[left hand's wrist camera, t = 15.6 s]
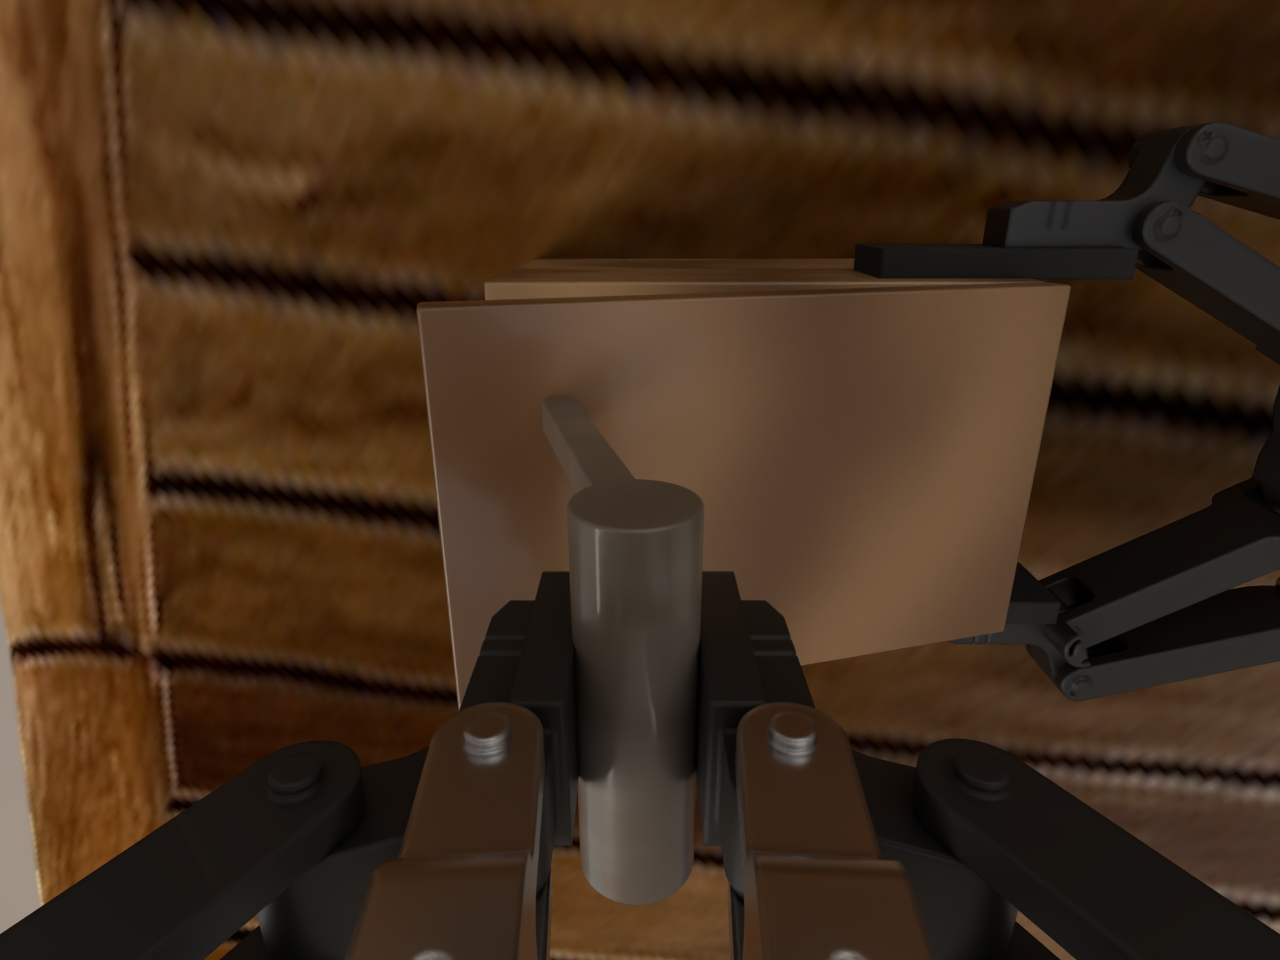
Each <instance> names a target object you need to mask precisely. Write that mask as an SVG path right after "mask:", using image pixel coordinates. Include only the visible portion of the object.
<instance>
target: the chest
mask: <svg viewBox="0 0 1280 960" xmlns="http://www.w3.org/2000/svg"><path fill="white" fill-rule="evenodd" d="M853 269H854V258H821V259H534V260H532V261H530V262H528V263H526V264H524V265H522V266H519V267H517V268H515V269H513V270H511V271H509V272H506V273H504V274H502V275H500V276H498V277H496V278H493V279H491V280H489V281H487V282H485V284H484V289H485V300H506V299H536V298H567V297H598V296H629V295H660V294H691V293H721V292H752V291H783V290H814V289H845V288H875V287H906V286H937V285H968V284H999V283H1030V282H1045V281H1041V280H1036V279H1031V278H932V279H880V278H877V277H874V276H871V275H867V274H864V273H861V272H858V271H855V270H853Z"/></svg>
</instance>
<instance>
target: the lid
mask: <svg viewBox="0 0 1280 960" xmlns="http://www.w3.org/2000/svg"><path fill="white" fill-rule="evenodd" d="M1070 290H1071V286H1069V285H1066V284H1058V283H1050V282H1030V283H999V284H968V285H937V286H906V287H875V288H845V289H814V290H783V291H752V292H721V293H691V294H660V295H629V296H598V297H567V298H536V299H506V300H475V301H444V302H420V303H418V305H417V320H418V329H419V339H420V349H421V358H422V368H423V377H424V387H425V396H426V406H427V415H428V425H429V434H430V444H431V453H432V463H433V472H434V482H435V491H436V501H437V511H438V520H439V530H440V539H441V549H442V558H443V568H444V577H445V587H446V596H447V606H448V615H449V625H450V634H451V644H452V653H453V663H454V672H455V682H456V692H457V701H458V711H459V709H460V706H461V704H462V701H463V698H464V695H465V692H466V689H467V687H468V684H469V681H470V678H471V675H472V672H473V670H474V667H475V664H476V661H477V658H478V656H480V650H481V647H482V644H483V641H484V640H485V635H486V633H487V630H488V627H489V624H490V621H491V618H492V616H494V615H495V614H496V613H497V612H498V611H499V610H500V609H501V608H502V607H504V606H505V605H506V604H507V603H508V602H509V601H510V600H535V598H536V594H537V590H538V586H539V583H540V579H541V575H542V572H543V571H569V575H570V601H571V626H572V640H573V643H574V650H575V677H576V705H577V732H578V759H579V781H578V805H579V831H580V856H581V866H582V870H583V873H584V875H585V877H586V879H587V880H588V882H589V883H590V884H591V886H592V887H593V888H594V889H595V890H596V891H597V892H599V893H600V894H601V895H603V896H604V897H606V898H608V899H610V900H612V901H615V902H618V903H621V904H627V905H647V904H652V903H656V902H659V901H661V900H664V899H666V898H668V897H669V896H671V895H673V894H674V893H675V892H676V891H678V890H679V889H680V888H681V887H682V886H683V884H684V883H685V881H686V880H687V879H688V877H689V875H690V873H691V870H692V867H693V860H694V828H695V795H696V755H697V723H698V692H699V660H700V632H701V600H702V571H733V572H734V574H735V578H736V582H737V586H738V590H739V594H740V598H741V600H766V601H767V602H768V603H769V604H771V605H772V606H773V607H774V608H775V609H776V610H777V611H778V612H779V613H780V614H782V615H783V616H784V618H785V621H786V624H787V627H788V630H789V633H790V636H791V640H792V642H793V644H794V647H795V650H796V656H798V659H799V662H800V665H807V664H813V663H819V662H825V661H831V660H837V659H843V658H849V657H855V656H861V655H867V654H873V653H879V652H885V651H891V650H897V649H903V648H908V647H914V646H920V645H926V644H932V643H938V642H944V641H950V640H956V639H962V638H968V637H974V636H980V635H986V634H992V633H998V632H1003V631H1004V629H1005V624H1006V618H1007V613H1008V608H1009V603H1010V598H1011V593H1012V588H1013V583H1014V577H1015V572H1016V567H1017V562H1018V557H1019V552H1020V547H1021V541H1022V536H1023V531H1024V526H1025V521H1026V516H1027V511H1028V506H1029V500H1030V495H1031V490H1032V485H1033V480H1034V475H1035V470H1036V465H1037V459H1038V454H1039V449H1040V444H1041V439H1042V434H1043V429H1044V424H1045V418H1046V413H1047V408H1048V403H1049V398H1050V393H1051V388H1052V383H1053V377H1054V372H1055V367H1056V362H1057V357H1058V352H1059V347H1060V342H1061V336H1062V331H1063V326H1064V321H1065V316H1066V311H1067V306H1068V301H1069V295H1070Z"/></svg>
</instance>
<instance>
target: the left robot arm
mask: <svg viewBox="0 0 1280 960" xmlns="http://www.w3.org/2000/svg"><path fill="white" fill-rule="evenodd" d="M696 773H697V784H698V794H699V804H700V815H701V825H702V835H703V845H722V852H723V860H724V868H725V873H726V876H727V879H728V916H729V936H730V957H731V960H1060V959H1059V958H1058V957H1057V956H1055V955H1054V954H1053V953H1052V952H1051V951H1050V950H1049V949H1047V948H1046V947H1045V946H1044V945H1043V944H1042V943H1040V942H1039V941H1038V940H1037V939H1036V938H1035V937H1034V936H1032V935H1031V934H1030V933H1029V932H1028V931H1027V930H1025V929H1024V928H1023V927H1022V926H1021V925H1020V924H1019V923H1017V922H1016V921H1015V920H1016V916H1017V912H1018V910H1019V911H1020V912H1021V913H1022V914H1024V915H1025V916H1026V917H1027V918H1028V919H1029V920H1031V921H1032V922H1033V923H1034V924H1035V925H1037V926H1038V927H1039V928H1040V929H1041V930H1042V931H1044V932H1045V933H1046V934H1047V935H1048V936H1049V937H1051V938H1052V939H1053V940H1054V941H1055V942H1056V943H1058V944H1059V945H1060V946H1061V947H1062V948H1064V949H1065V950H1066V951H1067V952H1068V953H1069V954H1071V955H1072V956H1073V957H1074V958H1075V959H1076V960H1280V934H1279V933H1277V932H1276V931H1274V930H1273V929H1271V928H1270V927H1268V926H1267V925H1265V924H1264V923H1262V922H1261V921H1259V920H1258V919H1256V918H1255V917H1253V916H1252V915H1250V914H1249V913H1247V912H1246V911H1244V910H1243V909H1241V908H1240V907H1238V906H1237V905H1235V904H1234V903H1232V902H1231V901H1230V900H1228V899H1227V898H1225V897H1224V896H1222V895H1221V894H1219V893H1218V892H1216V891H1215V890H1213V889H1212V888H1210V887H1209V886H1207V885H1206V884H1204V883H1203V882H1201V881H1200V880H1198V879H1197V878H1195V877H1194V876H1192V875H1191V874H1189V873H1188V872H1186V871H1185V870H1183V869H1182V868H1180V867H1179V866H1177V865H1176V864H1174V863H1173V862H1171V861H1170V860H1168V859H1167V858H1165V857H1164V856H1162V855H1161V854H1159V853H1158V852H1156V851H1155V850H1153V849H1152V848H1150V847H1149V846H1147V845H1146V844H1145V843H1143V842H1142V841H1140V840H1139V839H1137V838H1136V837H1134V836H1133V835H1131V834H1130V833H1128V832H1127V831H1125V830H1124V829H1122V828H1121V827H1119V826H1118V825H1116V824H1115V823H1113V822H1112V821H1110V820H1109V819H1107V818H1106V817H1104V816H1103V815H1101V814H1100V813H1098V812H1097V811H1095V810H1094V809H1092V808H1091V807H1089V806H1088V805H1086V804H1085V803H1083V802H1082V801H1080V800H1079V799H1077V798H1076V797H1074V796H1073V795H1071V794H1070V793H1068V792H1067V791H1065V790H1064V789H1063V788H1061V787H1060V786H1058V785H1057V784H1055V783H1054V782H1052V781H1051V780H1049V779H1048V778H1046V777H1045V776H1043V775H1042V774H1040V773H1039V772H1037V771H1036V770H1034V769H1033V768H1031V767H1030V766H1028V765H1027V764H1025V763H1024V762H1022V761H1021V760H1019V759H1018V758H1016V757H1014V756H1013V755H1011V754H1009V753H1008V752H1006V751H1004V750H1002V749H999V748H997V747H995V746H992V745H989V744H986V743H982V742H979V741H974V740H968V739H945V740H940V741H937V742H934V743H932V744H930V745H928V746H927V747H925V748H924V749H923V750H922V752H921V753H920V755H919V757H918V760H917V766H916V768H915V767H911V766H906V765H902V764H898V763H894V762H889V761H885V760H881V759H877V758H873V757H870V756H867V755H864V754H862V753H859V752H857V751H855V750H853V749H851V747H850V743H849V740H848V737H847V735H846V733H845V731H844V730H843V728H842V727H841V726H840V725H839V724H838V723H837V722H836V721H835V720H834V719H833V718H831V717H830V716H828V715H827V714H825V713H823V712H822V711H819V710H817V709H815V706H814V703H813V700H812V697H811V694H810V691H809V688H808V685H807V682H806V679H805V677H804V674H803V671H802V668H801V665H800V662H799V659H798V656H796V650H795V647H794V644H793V642H792V640H791V636H790V633H789V630H788V627H787V624H786V621H785V618H784V616H783V615H782V614H780V613H779V612H778V611H777V610H776V609H775V608H774V607H773V606H772V605H771V604H769V603H768V602H767V601H766V600H741V598H740V594H739V590H738V586H737V582H736V578H735V574H734V572H733V571H702V600H701V632H700V660H699V692H698V723H697V755H696ZM578 781H579V759H578V732H577V705H576V677H575V650H574V643H573V640H572V626H571V601H570V575H569V571H543V572H542V575H541V579H540V583H539V586H538V590H537V594H536V598H535V600H510V601H509V602H508V603H507V604H506V605H505V606H504V607H502V608H501V609H500V610H499V611H498V612H497V613H496V614H495V615H494V616H492V618H491V621H490V624H489V627H488V630H487V633H486V635H485V640H484V641H483V644H482V647H481V650H480V656H478V658H477V661H476V664H475V667H474V670H473V672H472V675H471V678H470V681H469V684H468V687H467V689H466V692H465V695H464V698H463V701H462V704H461V706H460V709H459V711H458V712H457V713H455V714H453V715H452V716H450V717H449V718H447V719H446V720H445V721H444V722H443V723H442V724H441V725H440V726H439V727H438V728H437V730H436V731H435V733H434V735H433V737H432V740H431V743H430V746H428V747H427V748H425V749H423V750H421V751H419V752H416V753H414V754H411V755H409V756H406V757H402V758H399V759H395V760H391V761H386V762H382V763H378V764H373V765H369V766H365V767H361V766H360V760H359V758H358V756H357V754H356V753H355V752H354V751H353V750H352V749H351V748H349V747H348V746H346V745H344V744H341V743H338V742H333V741H322V740H320V741H308V742H302V743H298V744H294V745H291V746H288V747H285V748H282V749H280V750H277V751H275V752H273V753H271V754H269V755H267V756H266V757H264V758H262V759H261V760H259V761H258V762H256V763H255V764H253V765H252V766H250V767H249V768H247V769H246V770H244V771H243V772H241V773H240V774H238V775H237V776H235V777H234V778H232V779H231V780H229V781H228V782H226V783H225V784H223V785H222V786H220V787H219V788H217V789H216V790H214V791H213V792H212V793H210V794H209V795H207V796H206V797H204V798H203V799H201V800H200V801H198V802H197V803H195V804H194V805H192V806H191V807H189V808H188V809H186V810H185V811H183V812H182V813H180V814H179V815H177V816H176V817H174V818H173V819H171V820H170V821H168V822H167V823H165V824H164V825H162V826H161V827H159V828H158V829H156V830H155V831H153V832H152V833H150V834H149V835H147V836H146V837H144V838H143V839H141V840H140V841H138V842H137V843H135V844H134V845H132V846H131V847H129V848H128V849H127V850H125V851H124V852H122V853H121V854H119V855H118V856H116V857H115V858H113V859H112V860H110V861H109V862H107V863H106V864H104V865H103V866H101V867H100V868H98V869H97V870H95V871H94V872H92V873H91V874H89V875H88V876H86V877H85V878H83V879H82V880H80V881H79V882H77V883H76V884H74V885H73V886H71V887H70V888H68V889H67V890H65V891H64V892H62V893H61V894H59V895H58V896H56V897H55V898H53V899H52V900H50V901H49V902H47V903H46V904H45V905H43V906H42V907H40V908H39V909H37V910H36V911H34V912H33V913H31V914H30V915H28V916H27V917H25V918H24V919H22V920H21V921H19V922H18V923H16V924H15V925H13V926H12V927H10V928H9V929H7V930H6V931H4V932H3V933H1V934H0V960H204V959H205V958H206V957H207V956H208V955H209V954H211V953H212V952H213V951H214V950H215V949H216V948H218V947H219V946H220V945H221V944H222V943H224V942H225V941H226V940H227V939H228V938H229V937H231V936H232V935H233V934H234V933H235V932H236V931H238V930H239V929H240V928H241V927H242V926H243V925H245V924H246V923H247V922H248V921H249V920H251V919H252V918H253V917H254V916H255V915H256V914H257V917H258V920H259V924H260V925H259V926H258V927H257V928H256V929H255V930H253V931H252V932H251V933H250V934H249V935H248V936H246V937H245V938H244V939H243V940H242V941H241V942H240V943H238V944H237V945H236V946H235V947H234V948H233V949H231V950H230V951H229V952H228V953H227V954H226V955H225V956H223V957H222V958H221V959H220V960H549V956H550V936H551V916H552V880H551V860H552V852H553V846H572V839H573V830H574V820H575V810H576V801H577V791H578Z"/></svg>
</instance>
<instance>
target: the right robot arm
mask: <svg viewBox="0 0 1280 960" xmlns="http://www.w3.org/2000/svg"><path fill="white" fill-rule="evenodd" d="M1128 161H1129V168H1130V170H1129V172H1128V174H1127V176H1126V178H1125V179H1124V181H1123V183H1122V184H1121V185H1120V187H1119V188H1118V189H1117V190H1116V191H1115V192H1114V193H1113V194H1111V195H1110V196H1108V197H1107V198H1104V199H1101V200H1097V201H1007V202H1004V203H1002V204H999V205H997V206H994V207H992V208H989V209H988V212H987V218H986V225H985V231H984V238H983V244H856V248H855V258H854V269H853V270H855V271H858V272H861V273H864V274H867V275H871V276H874V277H877V278H880V279H932V278H1031V279H1133V274H1134V270H1135V267H1136V268H1137V269H1139V270H1140V271H1142V272H1143V273H1145V274H1146V275H1148V276H1150V277H1151V278H1153V279H1154V280H1156V281H1157V282H1159V283H1161V284H1162V285H1164V286H1165V287H1167V288H1168V289H1170V290H1172V291H1173V292H1175V293H1176V294H1178V295H1179V296H1181V297H1183V298H1184V299H1186V300H1187V301H1189V302H1190V303H1192V304H1194V305H1195V306H1197V307H1198V308H1200V309H1201V310H1203V311H1205V312H1206V313H1208V314H1209V315H1211V316H1212V317H1214V318H1216V319H1217V320H1219V321H1220V322H1222V323H1223V324H1225V325H1227V326H1228V327H1230V328H1231V329H1233V330H1234V331H1236V332H1237V333H1239V334H1241V335H1242V336H1244V337H1245V338H1247V339H1248V340H1250V341H1252V342H1253V343H1255V344H1256V345H1257V346H1256V347H1255V348H1256V349H1257V350H1258V351H1259V352H1261V353H1262V354H1264V355H1266V356H1267V357H1269V358H1270V359H1272V360H1273V361H1275V362H1277V363H1278V364H1280V267H1278V266H1276V265H1275V264H1273V263H1272V262H1270V261H1269V260H1267V259H1266V258H1264V257H1263V256H1261V255H1260V254H1258V253H1257V252H1255V251H1254V250H1252V249H1251V248H1249V247H1248V246H1246V245H1245V244H1243V243H1242V242H1240V241H1239V240H1237V239H1236V238H1234V237H1233V236H1231V235H1230V234H1228V233H1227V232H1225V231H1224V230H1222V229H1221V228H1219V227H1218V226H1216V225H1215V224H1213V223H1212V222H1210V221H1209V220H1207V219H1206V218H1204V217H1203V216H1201V215H1200V214H1198V213H1197V212H1195V211H1194V210H1192V209H1191V208H1190V207H1191V206H1192V204H1193V202H1194V201H1195V199H1196V197H1197V195H1199V196H1202V197H1206V198H1209V199H1212V200H1216V201H1219V202H1222V203H1226V204H1229V205H1232V206H1236V207H1239V208H1242V209H1246V210H1249V211H1252V212H1256V213H1259V214H1263V215H1266V216H1269V217H1273V218H1276V219H1279V220H1280V139H1277V138H1273V137H1270V136H1267V135H1264V134H1260V133H1257V132H1254V131H1251V130H1247V129H1244V128H1241V127H1238V126H1234V125H1231V124H1228V123H1222V122H1213V123H1206V124H1199V125H1193V126H1186V127H1179V128H1173V129H1166V130H1159V131H1153V132H1150V133H1147V134H1144V135H1143V136H1142V137H1140V138H1139V139H1138V140H1137V141H1136V142H1135V143H1134V145H1133V146H1132V148H1131V150H1130V154H1129V157H1128ZM1279 569H1280V386H1279V389H1278V393H1277V396H1276V399H1275V403H1274V406H1273V431H1272V433H1271V435H1270V436H1269V438H1268V440H1267V441H1266V443H1265V445H1264V447H1263V448H1262V450H1261V452H1260V453H1259V455H1258V459H1257V462H1256V465H1255V469H1254V472H1253V475H1252V478H1250V479H1248V480H1246V481H1243V482H1241V483H1239V484H1236V485H1234V486H1232V487H1229V488H1227V489H1225V490H1223V491H1220V492H1218V493H1217V494H1215V495H1214V496H1213V498H1212V504H1211V506H1209V507H1207V508H1205V509H1203V510H1201V511H1198V512H1196V513H1194V514H1191V515H1189V516H1187V517H1184V518H1182V519H1180V520H1177V521H1175V522H1173V523H1171V524H1168V525H1166V526H1164V527H1161V528H1159V529H1157V530H1154V531H1152V532H1150V533H1147V534H1145V535H1143V536H1141V537H1138V538H1136V539H1134V540H1131V541H1129V542H1127V543H1124V544H1122V545H1120V546H1117V547H1115V548H1113V549H1111V550H1108V551H1106V552H1104V553H1101V554H1099V555H1097V556H1094V557H1092V558H1090V559H1087V560H1085V561H1083V562H1081V563H1078V564H1076V565H1074V566H1071V567H1069V568H1067V569H1064V570H1062V571H1060V572H1057V573H1055V574H1053V575H1051V576H1048V577H1046V578H1044V579H1041V580H1039V581H1038V580H1037V579H1036V578H1035V577H1034V576H1033V575H1032V574H1031V573H1030V572H1029V571H1028V570H1026V569H1025V568H1024V567H1023V566H1022V565H1021V564H1020V563H1019V562H1017V567H1016V572H1015V577H1014V583H1013V588H1012V593H1011V598H1010V603H1009V608H1008V613H1007V618H1006V624H1005V629H1004V631H1003V632H998V633H992V634H986V635H980V636H974V637H968V638H962V639H956V640H950V641H949V642H952V643H954V644H973V643H975V644H985V643H987V644H1026V649H1027V652H1028V653H1029V655H1030V656H1031V657H1032V658H1033V659H1034V660H1035V662H1036V663H1037V664H1038V665H1039V666H1040V668H1041V669H1042V670H1043V671H1044V672H1045V673H1046V675H1047V676H1048V677H1049V678H1050V679H1051V681H1052V682H1053V683H1054V684H1055V685H1056V686H1057V688H1058V689H1059V690H1060V691H1061V692H1062V694H1063V695H1064V696H1065V697H1067V698H1068V699H1070V700H1073V701H1082V700H1087V699H1092V698H1097V697H1102V696H1107V695H1112V694H1117V693H1122V692H1127V691H1132V690H1137V689H1142V688H1147V687H1152V686H1157V685H1162V684H1167V683H1172V682H1177V681H1182V680H1187V679H1192V678H1197V677H1202V676H1207V675H1212V674H1217V673H1222V672H1227V671H1232V670H1237V669H1241V668H1246V667H1251V666H1256V665H1261V664H1266V663H1271V662H1276V661H1280V577H1279V578H1278V579H1277V580H1276V586H1265V585H1261V586H1248V587H1241V588H1235V589H1231V588H1234V587H1236V586H1238V585H1241V584H1243V583H1246V582H1248V581H1251V580H1253V579H1255V578H1258V577H1260V576H1263V575H1265V574H1267V573H1270V572H1272V571H1275V570H1279ZM1229 589H1230V590H1229Z"/></svg>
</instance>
